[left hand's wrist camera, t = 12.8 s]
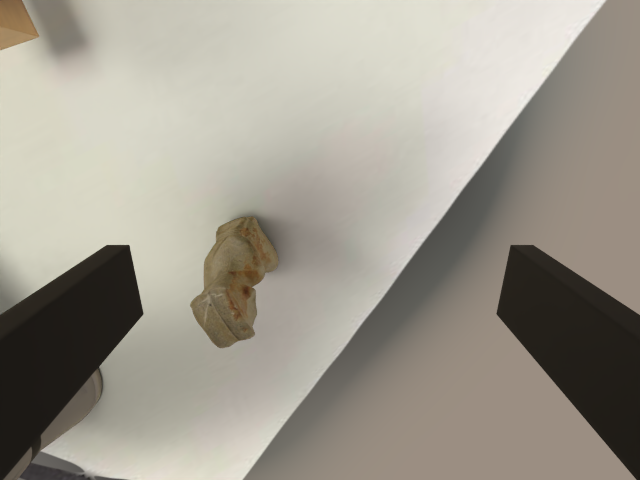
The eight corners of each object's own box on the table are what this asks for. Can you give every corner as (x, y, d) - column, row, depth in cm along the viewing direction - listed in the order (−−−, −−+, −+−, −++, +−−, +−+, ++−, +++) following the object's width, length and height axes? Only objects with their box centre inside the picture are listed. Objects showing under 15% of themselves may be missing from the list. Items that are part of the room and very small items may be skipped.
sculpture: (241, 276, 42) (201, 363, 28) (214, 221, 39) (155, 285, 25) (287, 260, 41) (270, 342, 27) (263, 204, 38) (230, 260, 24)
